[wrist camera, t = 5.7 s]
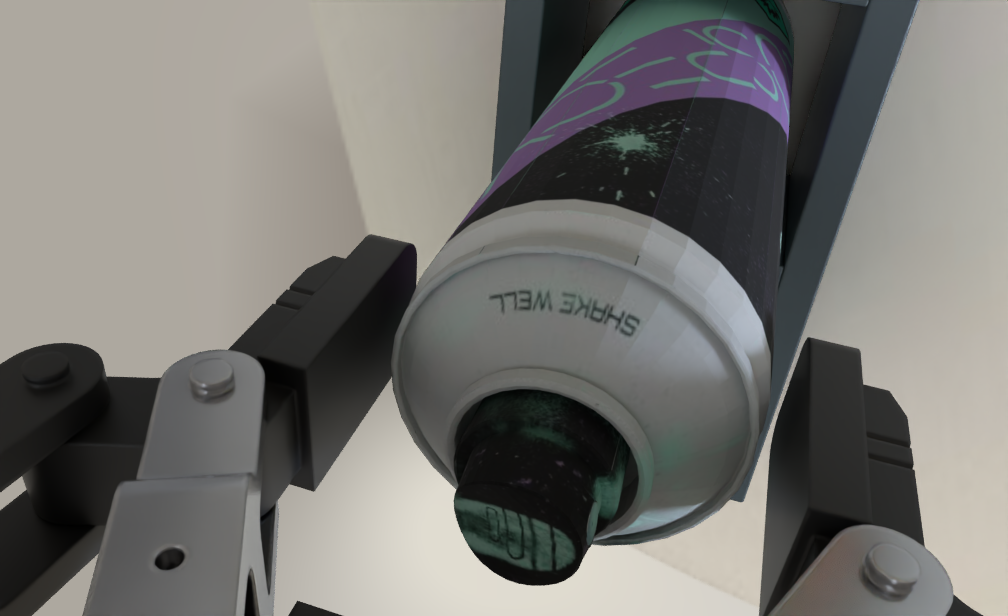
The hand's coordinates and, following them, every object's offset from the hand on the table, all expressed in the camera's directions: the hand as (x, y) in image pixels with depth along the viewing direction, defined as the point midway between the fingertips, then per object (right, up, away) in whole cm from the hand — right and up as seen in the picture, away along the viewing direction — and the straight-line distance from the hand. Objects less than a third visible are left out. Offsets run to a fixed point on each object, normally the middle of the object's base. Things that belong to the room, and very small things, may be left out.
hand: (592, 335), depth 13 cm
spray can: (+5, +8, +13) cm, 16 cm away
